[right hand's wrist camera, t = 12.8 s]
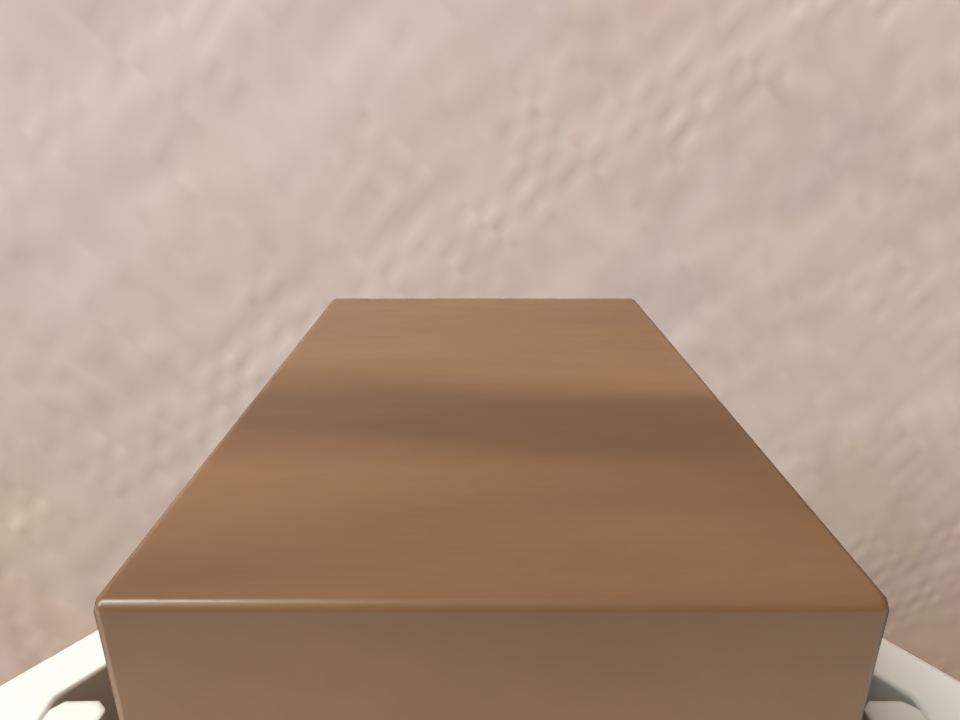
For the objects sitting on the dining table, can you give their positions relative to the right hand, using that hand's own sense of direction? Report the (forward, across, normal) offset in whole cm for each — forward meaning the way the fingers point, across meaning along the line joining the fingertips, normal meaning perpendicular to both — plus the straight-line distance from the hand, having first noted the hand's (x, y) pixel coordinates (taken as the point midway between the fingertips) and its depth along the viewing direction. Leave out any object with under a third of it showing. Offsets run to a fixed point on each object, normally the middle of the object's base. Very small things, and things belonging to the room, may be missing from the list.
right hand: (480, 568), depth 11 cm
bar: (+3, 0, +8) cm, 8 cm away
